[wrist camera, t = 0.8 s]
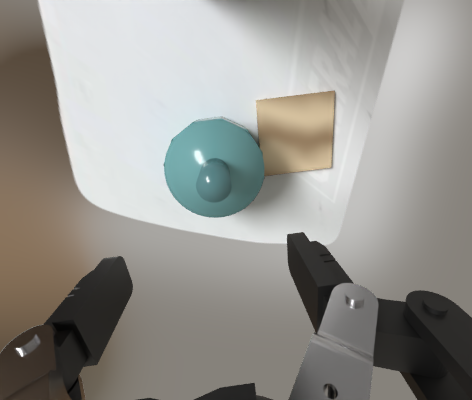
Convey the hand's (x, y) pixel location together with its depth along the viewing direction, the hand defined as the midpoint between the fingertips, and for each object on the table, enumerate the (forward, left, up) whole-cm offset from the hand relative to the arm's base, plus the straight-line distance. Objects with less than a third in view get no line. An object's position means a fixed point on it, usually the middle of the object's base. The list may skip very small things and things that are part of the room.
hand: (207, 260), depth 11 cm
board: (-2, +12, -24) cm, 27 cm away
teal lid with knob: (0, 0, -24) cm, 24 cm away
